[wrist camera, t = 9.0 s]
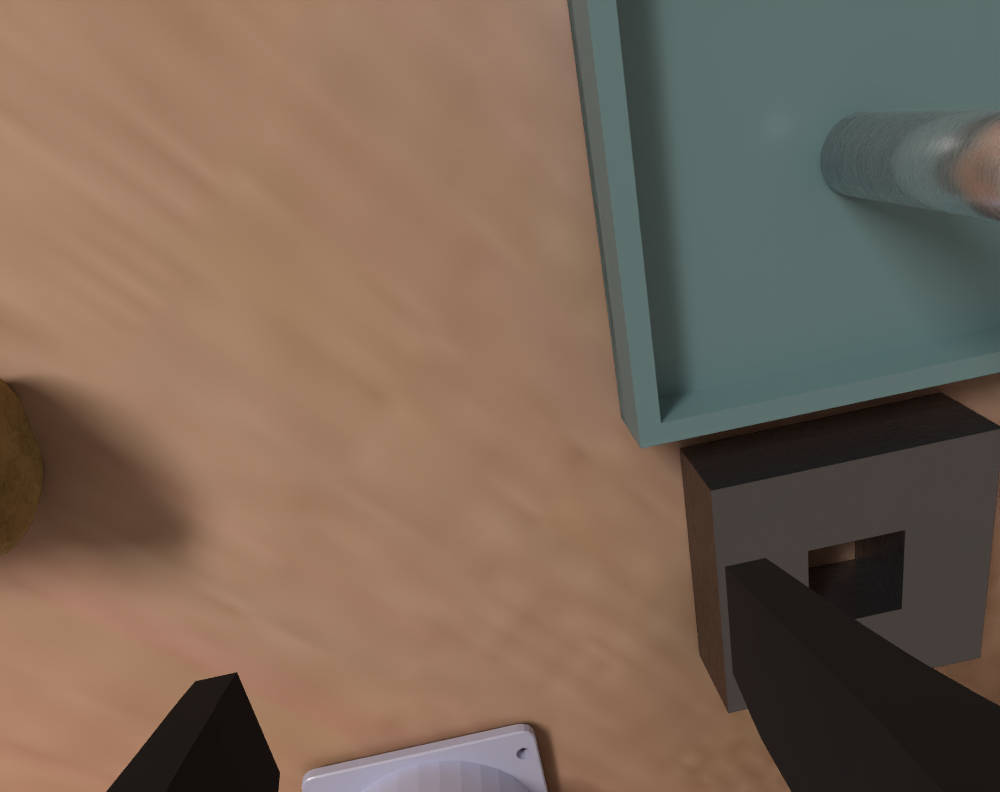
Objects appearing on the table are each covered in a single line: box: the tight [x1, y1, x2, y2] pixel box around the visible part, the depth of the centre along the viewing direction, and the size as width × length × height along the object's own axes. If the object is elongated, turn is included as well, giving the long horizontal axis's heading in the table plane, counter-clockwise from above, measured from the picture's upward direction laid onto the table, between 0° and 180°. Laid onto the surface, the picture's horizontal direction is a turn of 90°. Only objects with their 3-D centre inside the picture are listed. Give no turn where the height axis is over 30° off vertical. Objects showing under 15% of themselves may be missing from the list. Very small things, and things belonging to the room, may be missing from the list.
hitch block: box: [680, 393, 1000, 713], centre depth 22 cm, size 8×8×2 cm
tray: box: [567, 0, 1000, 448], centre depth 18 cm, size 13×13×2 cm
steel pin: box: [820, 110, 1000, 222], centre depth 14 cm, size 3×3×9 cm
